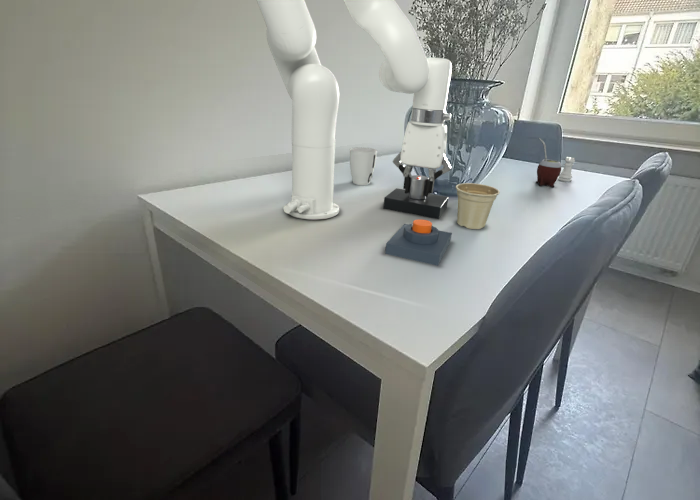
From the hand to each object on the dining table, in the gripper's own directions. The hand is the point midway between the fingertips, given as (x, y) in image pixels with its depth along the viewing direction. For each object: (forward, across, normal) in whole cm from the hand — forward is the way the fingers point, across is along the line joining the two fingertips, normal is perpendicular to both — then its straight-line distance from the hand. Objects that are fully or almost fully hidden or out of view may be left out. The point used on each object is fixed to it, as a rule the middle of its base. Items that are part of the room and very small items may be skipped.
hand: (417, 193), depth 97 cm
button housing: (+4, -7, +24) cm, 25 cm away
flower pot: (+4, -14, +5) cm, 16 cm away
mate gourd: (+4, -31, -49) cm, 58 cm away
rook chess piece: (+4, -38, -61) cm, 72 cm away
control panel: (+4, 0, 0) cm, 4 cm away
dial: (+1, 0, 0) cm, 1 cm away
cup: (+4, +21, -15) cm, 26 cm away
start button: (0, -7, +24) cm, 25 cm away
